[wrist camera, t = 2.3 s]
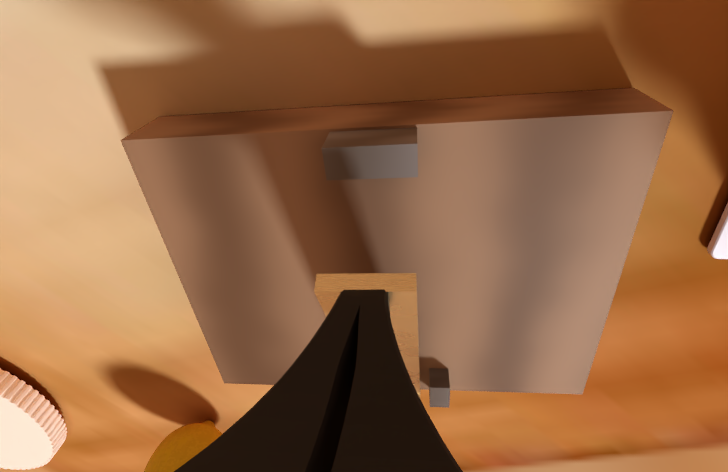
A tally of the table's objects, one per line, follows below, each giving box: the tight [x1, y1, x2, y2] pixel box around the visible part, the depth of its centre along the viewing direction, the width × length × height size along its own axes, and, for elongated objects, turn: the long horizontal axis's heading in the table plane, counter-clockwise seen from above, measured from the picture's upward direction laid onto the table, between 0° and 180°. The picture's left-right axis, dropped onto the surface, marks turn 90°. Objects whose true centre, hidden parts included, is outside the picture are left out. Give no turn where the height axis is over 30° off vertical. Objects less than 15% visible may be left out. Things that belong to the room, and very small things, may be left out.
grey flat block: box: [121, 88, 673, 407], centre depth 20 cm, size 20×15×5 cm
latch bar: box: [314, 273, 420, 398], centre depth 17 cm, size 3×12×1 cm, turn 5°
